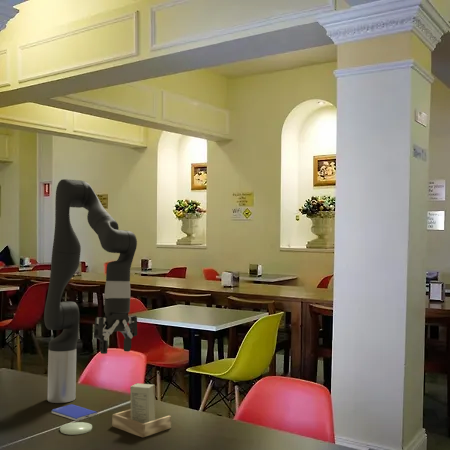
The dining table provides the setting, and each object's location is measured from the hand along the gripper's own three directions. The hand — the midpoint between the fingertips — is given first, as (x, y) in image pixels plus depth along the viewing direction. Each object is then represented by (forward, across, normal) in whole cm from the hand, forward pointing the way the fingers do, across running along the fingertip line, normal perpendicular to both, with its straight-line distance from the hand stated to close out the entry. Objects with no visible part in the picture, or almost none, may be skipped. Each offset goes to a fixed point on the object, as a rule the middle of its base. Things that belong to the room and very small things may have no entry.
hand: (115, 352), depth 164 cm
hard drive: (+21, -2, -21) cm, 30 cm away
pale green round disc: (+22, +6, -9) cm, 24 cm away
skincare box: (+22, -8, +4) cm, 24 cm away
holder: (+22, -8, +4) cm, 24 cm away
